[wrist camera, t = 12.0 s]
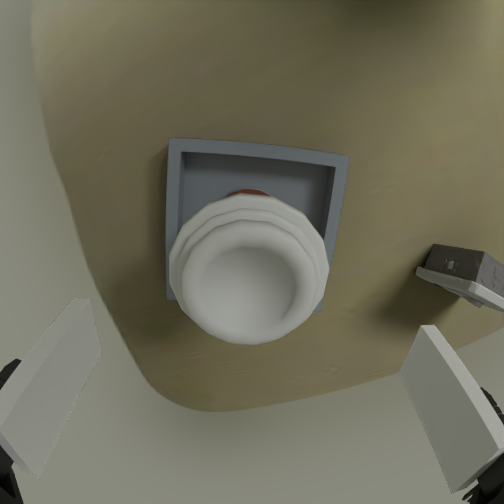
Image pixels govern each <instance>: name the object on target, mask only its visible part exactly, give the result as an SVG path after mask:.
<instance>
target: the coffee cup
mask: <svg viewBox="0 0 504 504" xmlns="http://www.w3.org/2000/svg"><path fill="white" fill-rule="evenodd" d="M328 273H329V264H328V260H327V255H326V250H325V246H324V241H323V239H322V237H321V236H320V235H319V233H318V232H317V231H316V229H315V228H314V227H313V225H312V224H311V223H310V221H309V220H308V219H307V217H306V216H305V215H304V214H303V212H301V211H299V210H298V209H296V208H294V207H292V206H290V205H289V204H287V203H285V202H283V201H281V200H280V199H278V198H276V197H274V196H272V195H271V194H269V193H267V192H265V191H263V190H261V189H258V188H248V187H244V188H240V189H237V190H234V191H231V192H229V193H228V194H227V195H225V196H224V197H223V198H222V199H219V200H216V201H212V202H209V203H207V204H206V205H205V206H204V207H203V208H201V209H200V210H199V211H198V212H197V213H196V214H194V215H193V216H192V217H191V218H190V219H189V220H187V221H186V222H185V223H184V224H183V226H182V227H181V230H180V232H179V234H178V236H177V238H176V240H175V243H174V245H173V247H172V249H171V251H170V253H169V283H170V285H171V288H172V290H173V292H174V294H175V297H176V299H177V301H178V303H179V305H180V307H181V309H182V310H183V311H184V312H185V313H186V314H187V315H188V316H189V317H190V318H191V319H192V320H193V321H194V322H195V323H196V324H197V325H198V326H199V327H201V328H202V329H204V330H205V331H206V332H207V333H208V334H210V335H212V336H215V337H217V338H219V339H222V340H224V341H226V342H229V343H235V344H247V345H257V344H261V343H265V342H269V341H273V340H277V339H280V338H281V337H283V336H284V335H286V334H287V333H289V332H291V331H292V330H294V329H295V328H297V327H298V326H299V325H300V324H301V323H302V322H304V321H305V320H307V318H308V317H309V316H310V314H311V313H312V312H313V310H314V309H315V307H316V306H317V305H318V303H319V302H320V300H321V299H322V298H323V295H324V291H325V286H326V282H327V277H328Z"/></svg>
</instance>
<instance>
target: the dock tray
mask: <svg viewBox="0 0 504 504" xmlns="http://www.w3.org/2000/svg"><path fill="white" fill-rule="evenodd" d="M349 158H350V157H349V156H345V155H341V154H336V153H330V152H323V151H317V150H310V149H303V148H296V147H288V146H280V145H271V144H261V143H251V142H240V141H228V140H213V139H195V138H169V150H168V168H167V192H166V294H167V300H175V301H177V299H176V297H175V294H174V292H173V290H172V288H171V285H170V283H169V253H170V251H171V249H172V247H173V245H174V243H175V240H176V238H177V236H178V234H179V232H180V230H181V227H182V226H183V224H184V223H185V222H186V221H187V220H189V219H190V218H191V217H192V216H193V215H194V214H196V213H197V212H198V211H199V210H200V209H201V208H203V207H204V206H205V205H206V204H207V203H209V202H212V201H216V200H219V199H222V198H223V197H224V196H225V195H227V194H228V193H229V192H231V191H234V190H237V189H240V188H244V187H248V188H258V189H261V190H263V191H265V192H267V193H269V194H271V195H272V196H274V197H276V198H278V199H280V200H281V201H283V202H285V203H287V204H289V205H290V206H292V207H294V208H296V209H298V210H299V211H301V212H303V214H304V215H305V216H306V217H307V219H308V220H309V221H310V223H311V224H312V225H313V227H314V228H315V229H316V231H317V232H318V233H319V235H320V236H321V237H322V239H323V241H324V246H325V250H326V255H327V260H328V264H329V271H330V266H331V262H332V257H333V252H334V247H335V242H336V236H337V231H338V226H339V220H340V215H341V209H342V203H343V197H344V191H345V185H346V178H347V172H348V165H349ZM328 276H329V273H328ZM327 280H328V277H327ZM326 285H327V282H326ZM325 289H326V286H325ZM324 294H325V291H324ZM323 298H324V295H323ZM323 298H322V299H321V300H320V302H319V303H318V305H317V306H316V307H315V309H314V310H313V312H320V311H321V307H322V302H323Z"/></svg>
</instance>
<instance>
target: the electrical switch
mask: <svg viewBox="0 0 504 504" xmlns="http://www.w3.org/2000/svg"><path fill="white" fill-rule="evenodd" d="M474 255H475V256H474ZM482 256H483V258H482ZM415 274H416V275H417V276H418V277H420V278H422V279H424V280H426V281H429V282H431V283H433V284H435V285H437V286H440V287H442V288H444V289H446V290H448V291H450V292H452V293H455V294H457V295H459V296H461V297H463V298H465V299H466V300H468V301H469V302H470V303H472V304H473V305H475V306H477V307H479V308H480V307H481V306H482V305H484V306H487V307H490V308H492V309H495V310H498V311H501V312H504V265H503V264H501V263H500V262H498V261H497V260H496V259H494V258H493V257H491V256H490V255H489V254H487V253H486V252H484V254H483V251H477V250H471V249H464V248H458V247H451V246H445V245H438V244H433V247H432V250H431V253H430V255H429V257H428V259H427V262H426V265H425V266H424V268H421V267H419V266H418V267H417V270H416V273H415Z"/></svg>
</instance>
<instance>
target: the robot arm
mask: <svg viewBox="0 0 504 504" xmlns="http://www.w3.org/2000/svg"><path fill="white" fill-rule="evenodd" d="M101 355H102V351H101V347H100V343H99V338H98V333H97V329H96V324H95V319H94V314H93V308H92V302H91V299H85V298H79V297H74V298H73V299H72V301H71V302H70V303H69V304H68V305H67V306H66V307H65V309H64V310H63V311H62V312H61V313H60V314H59V316H58V317H57V318H56V319H55V320H54V322H53V323H52V324H51V325H50V326H49V328H48V329H47V330H46V331H45V332H44V333H43V335H42V336H41V337H40V338H39V340H38V341H37V342H36V343H35V345H34V346H33V347H32V348H31V350H30V351H29V352H28V353H27V355H26V356H25V357H24V359H23V360H22V361H21V360H19V359H15V360H13V361H12V362H11V363H9V364H8V365H6V366H5V367H4V368H3V370H2V371H1V372H0V504H23V500H22V497H21V494H20V491H19V488H18V485H17V481H16V478H15V474H14V472H13V470H12V468H11V466H12V464H13V462H14V463H15V464H17V466H18V467H19V468H20V469H21V470H22V471H24V472H26V473H28V474H30V475H32V476H34V477H36V478H38V479H40V478H41V475H42V473H43V470H44V468H45V466H46V463H47V461H48V459H49V457H50V455H51V452H52V450H53V448H54V446H55V444H56V442H57V439H58V437H59V435H60V433H61V431H62V429H63V427H64V425H65V423H66V421H67V419H68V417H69V415H70V413H71V411H72V409H73V407H74V405H75V403H76V401H77V399H78V397H79V395H80V393H81V392H82V390H83V387H84V386H85V384H86V382H87V380H88V378H89V377H90V375H91V373H92V371H93V369H94V367H95V366H96V364H97V362H98V360H99V358H100V357H101ZM399 376H400V378H401V380H402V382H403V384H404V386H405V388H406V390H407V392H408V395H409V397H410V399H411V401H412V403H413V405H414V407H415V409H416V412H417V413H418V416H419V418H420V420H421V422H422V425H423V427H424V429H425V431H426V433H427V436H428V438H429V440H430V442H431V445H432V447H433V449H434V452H435V454H436V456H437V459H438V461H439V464H440V466H441V468H442V471H443V473H444V476H445V478H446V481H447V483H448V486H449V489H450V491H451V493H454V492H457V491H460V490H462V489H464V488H467V487H468V486H469V485H470V484H471V483H473V482H474V481H475V480H476V479H477V480H478V483H479V484H477V485H476V486H475V487H474V488H473V489H472V490H470V491H469V492H468V493H467V494H465V495H464V497H463V499H462V500H465V499H467V498H468V497H469V496H470V495H472V497H471V498H470V499H469V500H468V501H467V502H470V504H504V415H503V414H502V411H501V410H500V408H499V407H497V404H496V402H495V401H494V399H493V398H492V396H491V395H490V394H489V393H488V392H487V391H485V390H484V389H483V388H482V387H481V388H480V387H479V386H478V384H477V383H476V381H475V380H474V379H473V377H472V376H471V374H470V373H469V371H468V370H467V368H466V367H465V366H464V364H463V363H462V361H461V360H460V359H459V357H458V356H457V354H456V353H455V352H454V350H453V349H452V348H451V346H450V345H449V344H448V342H447V341H446V340H445V338H444V337H443V336H442V334H441V333H440V332H439V330H438V329H437V328H436V326H435V325H420V328H419V330H418V333H417V335H416V337H415V340H414V342H413V344H412V346H411V349H410V351H409V353H408V355H407V357H406V359H405V361H404V364H403V366H402V368H401V370H400V372H399Z"/></svg>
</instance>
